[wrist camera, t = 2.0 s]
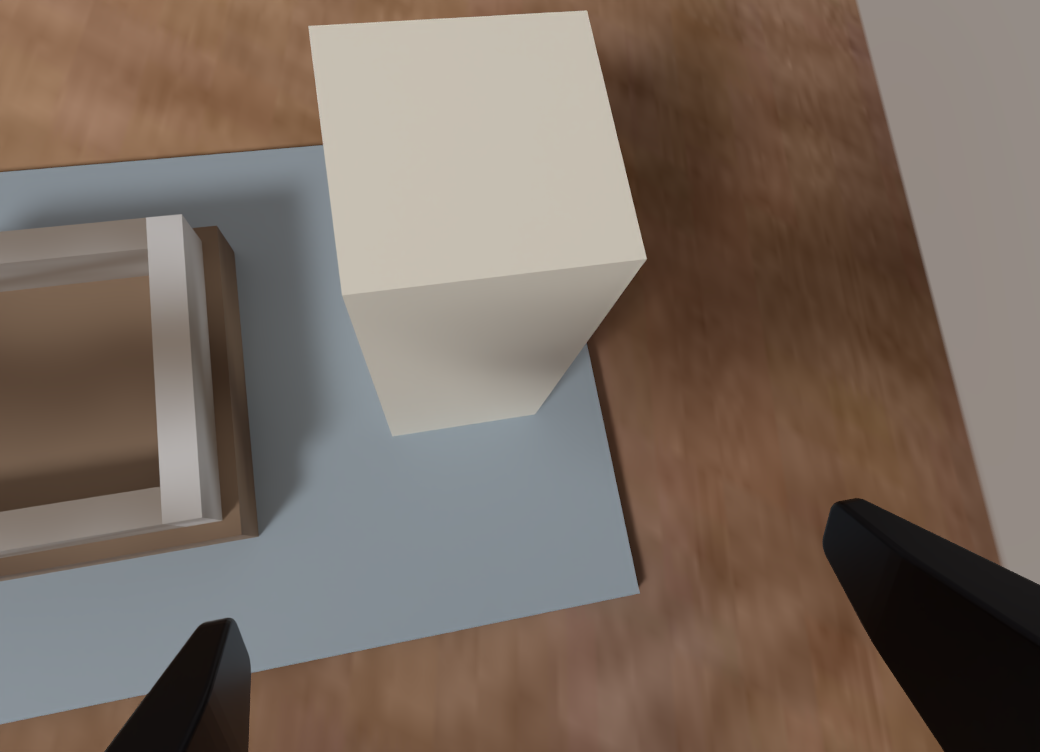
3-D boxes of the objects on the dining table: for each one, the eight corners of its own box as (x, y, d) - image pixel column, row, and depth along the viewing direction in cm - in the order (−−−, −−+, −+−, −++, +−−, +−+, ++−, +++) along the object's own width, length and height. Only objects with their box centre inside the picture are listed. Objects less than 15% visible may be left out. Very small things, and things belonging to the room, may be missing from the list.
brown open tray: (258, 536, 22) (223, 533, 18) (-92, 597, 20) (-210, 607, 16) (234, 251, 24) (198, 197, 20) (-82, 285, 22) (-183, 233, 19)
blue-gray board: (635, 592, 23) (639, 593, 23) (-164, 755, 19) (-178, 760, 19) (539, 134, 27) (541, 126, 27) (-133, 192, 23) (-145, 184, 23)
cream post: (535, 414, 24) (646, 258, 11) (392, 436, 23) (341, 295, 10) (510, 283, 25) (587, 10, 12) (373, 300, 24) (308, 26, 12)
